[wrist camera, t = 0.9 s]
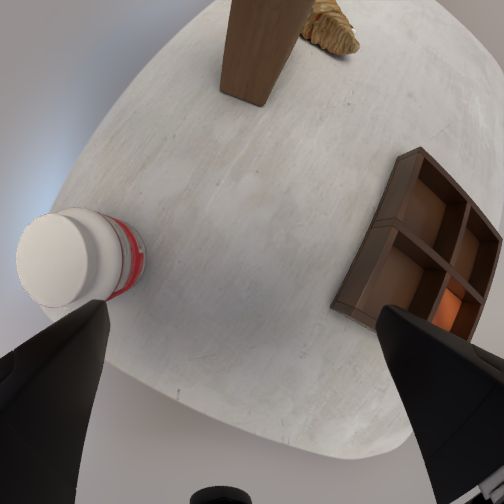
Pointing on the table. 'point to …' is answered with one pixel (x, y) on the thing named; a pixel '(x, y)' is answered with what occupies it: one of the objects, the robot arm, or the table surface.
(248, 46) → the wooden block
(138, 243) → the pill bottle
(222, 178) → the table surface
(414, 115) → the table surface
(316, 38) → the fossil
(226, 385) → the table surface
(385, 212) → the grid
